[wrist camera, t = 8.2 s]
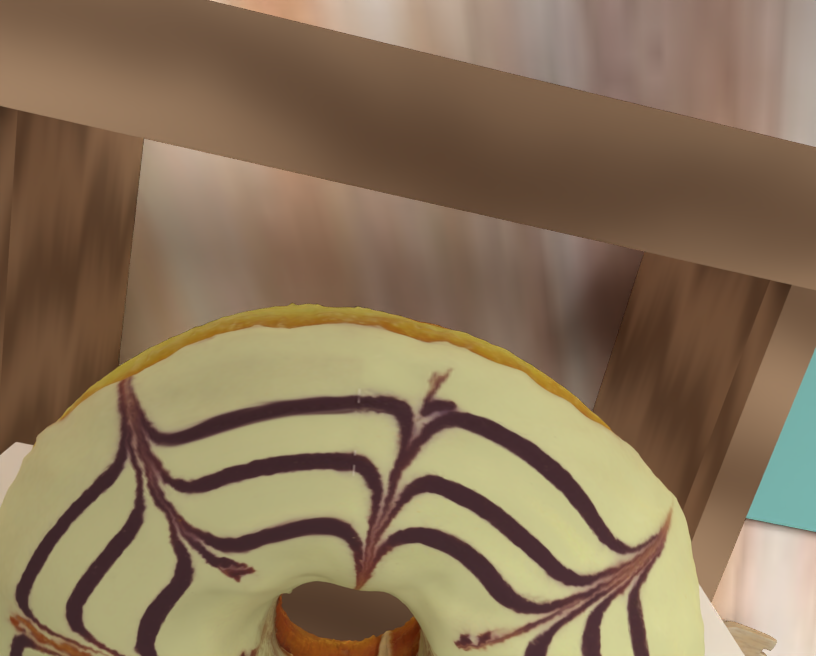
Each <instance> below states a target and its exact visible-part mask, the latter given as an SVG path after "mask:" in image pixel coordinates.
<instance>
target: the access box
mask: <svg viewBox="0 0 816 656" xmlns="http://www.w3.org/2000/svg"><path fill="white" fill-rule="evenodd" d="M144 138H145V139H149V140H153V141H158V142H162V143H167V144H171V145H175V146H180V147H184V148H189V149H193V150H198V151H202V152H206V153H211V154H215V155H220V156H224V157H229V158H233V159H237V160H242V161H246V162H251V163H255V164H260V165H264V166H268V167H273V168H277V169H282V170H286V171H290V172H295V173H299V174H304V175H308V176H313V177H317V178H321V179H326V180H330V181H335V182H339V183H344V184H348V185H352V186H357V187H361V188H366V189H370V190H374V191H379V192H383V193H388V194H392V195H397V196H401V197H405V198H410V199H414V200H419V201H423V202H428V203H432V204H436V205H441V206H445V207H450V208H454V209H459V210H463V211H467V212H472V213H476V214H481V215H485V216H489V217H494V218H498V219H503V220H507V221H512V222H516V223H520V224H525V225H529V226H534V227H538V228H543V229H547V230H551V231H556V232H560V233H565V234H569V235H574V236H578V237H582V238H587V239H591V240H596V241H600V242H604V243H609V244H613V245H618V246H622V247H627V248H631V249H635V250H640V251H644V255H643V258H642V261H641V264H640V267H639V270H638V273H637V276H636V279H635V282H634V285H633V289H632V292H631V295H630V298H629V301H628V304H627V307H626V310H625V313H624V316H623V319H622V323H621V326H620V329H619V332H618V335H617V338H616V341H615V344H614V347H613V350H612V353H611V357H610V360H609V363H608V366H607V369H606V372H605V375H604V378H603V381H602V384H601V387H600V391H599V394H598V397H597V400H596V403H595V406H594V409H593V413H594V414H596V415H597V416H598V417H599V418H600V419H601V420H602V421H603V422H604V423H606V424H607V425H608V426H609V427H610V429H611V430H612V431H613V432H614V433H615V434H616V435H617V436H618V437H620V438H621V439H622V440H623V441H625V442H627V443H628V444H629V445H631V446H632V447H633V448H634V449H635V451H636V452H638V453H639V455H640V457H641V458H642V460H643V461H644V462H645V463H646V465H647V466H648V467H649V468H650V469H651V471H652V472H653V474H654V475H655V476H656V477H657V478H659V479H660V481H661V482H662V483H663V484H664V485H665V487H666V488H667V489H668V490H669V491H670V492H672V493H673V494H674V496H675V497H676V498H677V501H678V503H679V505H680V507H681V509H682V511H683V513H684V516H685V518H686V521H687V525H688V530H689V535H690V539H691V546H692V555H693V559H694V563H695V567H696V574H697V578H698V583H699V585H700V586H701V588H702V589H703V591H704V593H705V594H706V596H707V597H708V599H709V600H710V602H712V599H713V597H714V594H715V592H716V590H717V587H718V585H719V582H720V580H721V577H722V575H723V573H724V570H725V568H726V565H727V563H728V560H729V558H730V555H731V553H732V551H733V548H734V546H735V543H736V541H737V538H738V536H739V534H740V531H741V529H742V526H743V524H744V521H745V519H746V516H747V514H748V512H749V509H750V507H751V504H752V502H753V499H754V497H755V494H756V492H757V490H758V487H759V485H760V482H761V480H762V477H763V475H764V473H765V470H766V468H767V465H768V463H769V460H770V458H771V455H772V453H773V451H774V448H775V446H776V443H777V441H778V438H779V436H780V434H781V431H782V429H783V426H784V424H785V421H786V419H787V416H788V414H789V412H790V409H791V407H792V404H793V402H794V399H795V397H796V395H797V392H798V390H799V387H800V385H801V382H802V380H803V377H804V375H805V373H806V370H807V368H808V365H809V363H810V360H811V358H812V355H813V353H814V351H815V348H816V147H812V146H808V145H804V144H800V143H796V142H792V141H788V140H783V139H779V138H775V137H771V136H767V135H763V134H759V133H755V132H750V131H746V130H742V129H738V128H734V127H730V126H726V125H721V124H717V123H713V122H709V121H705V120H701V119H697V118H693V117H688V116H684V115H680V114H676V113H672V112H668V111H664V110H660V109H655V108H651V107H647V106H643V105H639V104H635V103H631V102H627V101H622V100H618V99H614V98H610V97H606V96H602V95H598V94H594V93H589V92H585V91H581V90H577V89H573V88H569V87H565V86H560V85H556V84H552V83H548V82H544V81H540V80H536V79H532V78H527V77H523V76H519V75H515V74H511V73H507V72H503V71H499V70H494V69H490V68H486V67H482V66H478V65H474V64H470V63H466V62H461V61H457V60H453V59H449V58H445V57H441V56H437V55H433V54H428V53H424V52H420V51H416V50H412V49H408V48H404V47H399V46H395V45H391V44H387V43H383V42H379V41H375V40H371V39H366V38H362V37H358V36H354V35H350V34H346V33H342V32H338V31H333V30H329V29H325V28H321V27H317V26H313V25H309V24H305V23H300V22H296V21H292V20H288V19H284V18H280V17H276V16H272V15H267V14H263V13H259V12H255V11H251V10H247V9H243V8H238V7H234V6H230V5H226V4H222V3H218V2H214V1H210V0H0V455H1V454H2V453H3V452H4V451H6V450H7V449H8V448H9V447H10V446H12V445H13V444H14V443H15V442H19V443H24V444H29V445H34V444H35V442H36V437H37V436H38V435H39V434H40V433H41V432H42V431H43V430H44V429H45V428H46V427H48V426H50V425H51V424H53V423H55V422H56V421H57V420H58V419H59V418H61V417H62V415H63V414H64V413H65V411H66V410H67V409H68V408H69V407H70V406H72V405H73V404H74V403H75V401H76V400H77V399H79V398H80V397H81V396H82V395H83V394H84V393H85V392H86V391H87V390H88V389H89V388H90V387H91V386H93V385H94V384H95V383H96V382H98V381H100V380H101V379H102V378H103V377H105V376H106V375H108V374H109V373H110V372H112V371H113V370H115V369H116V368H117V367H118V362H119V354H120V345H121V336H122V327H123V318H124V309H125V300H126V291H127V283H128V274H129V265H130V256H131V247H132V238H133V229H134V221H135V212H136V203H137V194H138V185H139V176H140V167H141V159H142V150H143V141H144ZM281 596H282V600H281V601H282V602H283V603H282V608H283V610H284V611H285V612H286V614H287V616H288V617H289V619H290V621H291V622H293V623H294V624H296V625H297V626H298V627H300V628H302V629H303V630H305V631H307V632H308V633H311V634H314V635H316V636H318V637H321V638H328V639H335V640H340V641H344V640H345V641H348V640H351V641H354V640H356V641H362V640H364V639H365V638H370V637H371V636H372V635H374V636H376V637H378V636H380V635H381V634H384V633H385V632H386V631H389V630H394V629H395V628H398V627H402V626H404V625H405V623H406V622H407V621H410V619H411V618H412V617H414V615H413V614H412V613H411V611H410V610H409V609H408V607H407V606H406V605H405V604H404V603H402V602H401V601H400V600H399V599H398V598H396V597H395V596H393V595H391V594H389V593H386V592H381V591H360V590H355V589H350V588H346V587H343V586H339V585H336V584H333V583H328V582H322V581H313V582H308V583H304V584H302V585H300V586H298V587H296V588H294V589H293V590H292V592H291V593H290V594H288V593H283V594H282V595H281Z"/></svg>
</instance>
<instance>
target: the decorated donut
mask: <svg viewBox="0 0 816 656" xmlns="http://www.w3.org/2000/svg"><path fill="white" fill-rule="evenodd" d="M313 581H322V582H328V583H333V584H336V585H339V586H343V587H346V588H350V589H355V590H360V591H381V592H386V593H389V594H391V595H393V596H395V597H396V598H398V599H399V600H400V601H401V602H402V603H404V604H405V605H406V606H407V607H408V609H409V610H410V611H411V613H412V614H413V615H414V617H412V618H411V619H410V621H407V622H406V623H405V625H404V626H402V627H398V628H395V629H394V630H389V631H386V632H385V633H384V634H381V635H380V636H378V637H376V636H374V635H372V636H371V637H370V638H365V639H364V640H362V641H356V640H354V641H351V640H348V641H345V640H344V641H340V640H335V639H328V638H321V637H318V636H316V635H314V634H311V633H308V632H307V631H305V630H303V629H302V628H300V627H298V626H297V625H296V624H294V623H293V622H291V621H290V619H289V617H288V616H287V614H286V612H285V611H284V610H283V608H282V603H283V602H282V601H281V600H282V596H281V595H282V594H283V593H288V594H290V593H291V592H292V590H293V589H294V588H296V587H298V586H300V585H302V584H304V583H308V582H313ZM0 656H705V644H704V623H703V619H702V615H701V610H700V596H699V583H698V578H697V574H696V567H695V563H694V559H693V555H692V546H691V539H690V535H689V530H688V525H687V521H686V518H685V516H684V513H683V511H682V509H681V507H680V505H679V503H678V501H677V498H676V497H675V496H674V494H673V493H672V492H670V491H669V490H668V489H667V488H666V487H665V485H664V484H663V483H662V482H661V481H660V479H659V478H657V477H656V476H655V475H654V474H653V472H652V471H651V469H650V468H649V467H648V466H647V465H646V463H645V462H644V461H643V460H642V458H641V457H640V455H639V453H638V452H636V451H635V449H634V448H633V447H632V446H631V445H629V444H628V443H627V442H625V441H623V440H622V439H621V438H620V437H618V436H617V435H616V434H615V433H614V432H613V431H612V430H611V429H610V427H609V426H608V425H607V424H606V423H604V422H603V421H602V420H601V419H600V418H599V417H598V416H597V415H596V414H594V413H593V412H592V411H591V410H590V409H588V408H587V407H586V406H585V405H584V404H583V403H582V402H581V401H580V400H579V399H578V398H577V397H576V396H574V395H573V394H572V393H571V392H570V391H568V390H567V389H566V388H564V387H563V386H561V385H560V384H558V383H557V382H555V381H554V380H553V379H552V378H550V377H548V376H547V375H545V374H544V373H543V372H541V371H539V370H538V369H536V368H535V367H534V366H532V365H531V364H529V363H527V362H525V361H523V360H522V359H520V358H518V357H517V356H515V355H514V354H512V353H511V352H509V351H508V350H506V349H504V348H501V347H499V346H495V345H492V344H490V343H488V342H486V341H484V340H482V339H479V338H476V337H473V336H471V335H470V334H468V333H464V332H461V331H454V330H451V329H447V328H444V327H441V326H440V325H435V324H431V323H425V322H419V321H415V320H412V319H410V318H405V317H402V316H398V315H393V314H389V313H386V312H382V311H375V310H372V309H369V308H362V307H360V306H357V307H355V308H352V307H336V308H335V307H324V306H321V305H319V304H315V305H314V304H302V305H296V304H294V303H291V304H290V305H288V306H274V307H270V308H263V309H257V310H252V311H246V312H242V313H237V314H234V315H231V316H226V317H222V318H220V319H218V320H215V321H212V322H209V323H207V324H205V325H203V326H198V327H194V328H192V329H190V330H188V331H187V332H184V333H182V334H180V335H177V336H174V337H171V338H169V339H168V340H166V341H163V342H161V343H160V344H158V345H156V346H153V347H151V348H149V349H147V350H145V351H143V352H142V353H140V354H139V355H137V356H135V357H134V358H132V359H130V360H128V361H127V362H125V363H123V364H122V365H120V366H119V367H117V368H116V369H115V370H113V371H112V372H110V373H109V374H108V375H106V376H105V377H103V378H102V379H101V380H100V381H98V382H96V383H95V384H94V385H93V386H91V387H90V388H89V389H88V390H87V391H86V392H85V393H84V394H83V395H82V396H81V397H80V398H79V399H77V400H76V401H75V403H74V404H73V405H72V406H70V407H69V408H68V409H67V410H66V411H65V413H64V414H63V415H62V417H61V418H59V419H58V420H57V421H56V422H55V423H53V424H51V425H50V426H48V427H46V428H45V429H44V430H43V431H42V432H41V433H40V434H39V435H38V436H37V437H36V442H35V444H34V446H33V448H32V450H31V451H30V452H29V453H28V454H27V455H26V456H25V457H24V458H23V461H22V464H21V467H20V469H19V472H18V474H17V476H16V478H15V480H14V481H13V483H12V484H11V485H10V487H9V488H8V490H7V493H6V495H5V497H4V500H3V503H2V505H1V507H0Z"/></svg>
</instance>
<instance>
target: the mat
mask: <svg viewBox="0 0 816 656" xmlns="http://www.w3.org/2000/svg"><path fill="white" fill-rule="evenodd" d="M746 518H749V519H754V520H759V521H764V522H769V523H774V524H779V525H784V526H789V527H794V528H799V529H804V530H809V531H814V532H816V348H815V351H814V353H813V355H812V358H811V360H810V363H809V365H808V368H807V370H806V373H805V375H804V377H803V380H802V382H801V385H800V387H799V390H798V392H797V395H796V397H795V399H794V402H793V404H792V407H791V409H790V412H789V414H788V416H787V419H786V421H785V424H784V426H783V429H782V431H781V434H780V436H779V438H778V441H777V443H776V446H775V448H774V451H773V453H772V455H771V458H770V460H769V463H768V465H767V468H766V470H765V473H764V475H763V477H762V480H761V482H760V485H759V487H758V490H757V492H756V494H755V497H754V499H753V502H752V504H751V507H750V509H749V512H748V514H747V516H746Z"/></svg>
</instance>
